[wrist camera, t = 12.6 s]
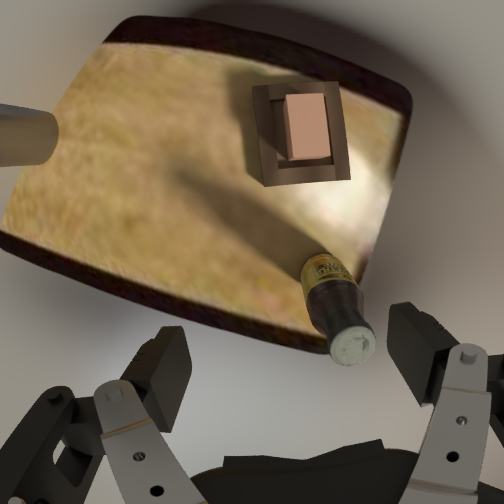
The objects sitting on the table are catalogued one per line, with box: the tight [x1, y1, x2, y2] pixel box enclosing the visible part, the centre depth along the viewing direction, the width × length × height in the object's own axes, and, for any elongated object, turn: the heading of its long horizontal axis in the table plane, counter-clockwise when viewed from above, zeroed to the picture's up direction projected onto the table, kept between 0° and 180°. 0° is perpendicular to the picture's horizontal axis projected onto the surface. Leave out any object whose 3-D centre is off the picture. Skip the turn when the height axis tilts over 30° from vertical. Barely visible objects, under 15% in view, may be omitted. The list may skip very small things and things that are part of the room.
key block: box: [282, 93, 331, 161], centre depth 33 cm, size 7×4×7 cm, turn 6°
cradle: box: [252, 82, 351, 187], centre depth 36 cm, size 11×13×2 cm
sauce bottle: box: [300, 253, 376, 366], centre depth 32 cm, size 6×6×20 cm
